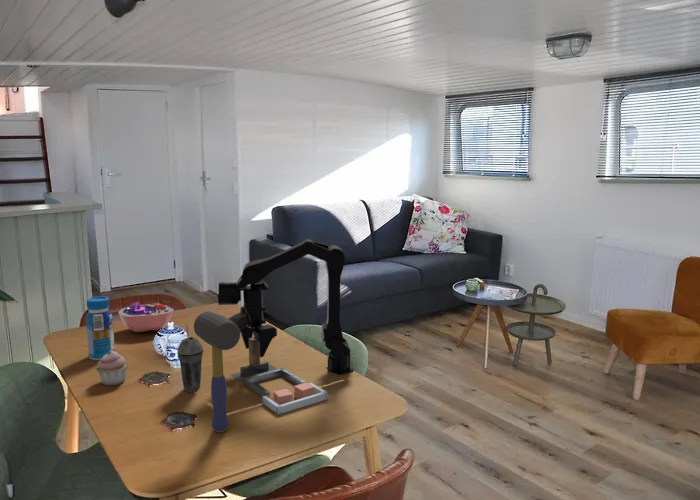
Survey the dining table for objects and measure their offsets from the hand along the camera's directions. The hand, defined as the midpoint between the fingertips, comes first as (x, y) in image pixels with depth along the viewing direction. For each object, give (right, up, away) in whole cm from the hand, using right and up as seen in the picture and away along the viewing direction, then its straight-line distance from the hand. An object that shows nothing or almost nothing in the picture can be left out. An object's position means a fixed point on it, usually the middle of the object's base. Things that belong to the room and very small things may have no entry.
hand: (254, 352), depth 182 cm
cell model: (-48, +1, +42) cm, 64 cm away
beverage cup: (-17, -9, -10) cm, 21 cm away
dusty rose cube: (+11, -11, -19) cm, 25 cm away
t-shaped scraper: (0, -6, +1) cm, 7 cm away
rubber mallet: (-3, -14, -34) cm, 37 cm away
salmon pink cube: (+17, -10, -15) cm, 25 cm away
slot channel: (+8, -9, -9) cm, 15 cm away
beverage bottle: (-54, -4, +16) cm, 56 cm away
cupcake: (-42, -8, -5) cm, 43 cm away
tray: (+14, -11, -17) cm, 25 cm away
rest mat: (0, -7, +1) cm, 7 cm away
